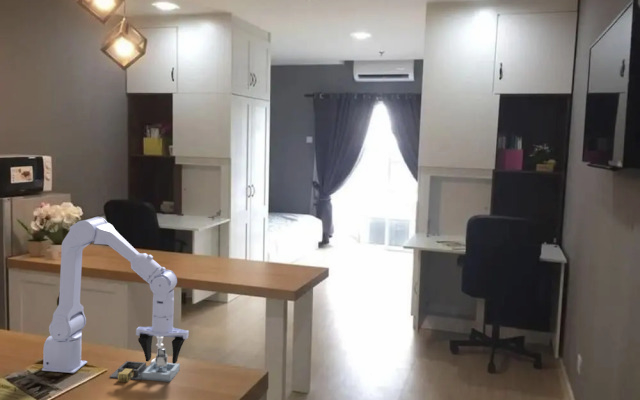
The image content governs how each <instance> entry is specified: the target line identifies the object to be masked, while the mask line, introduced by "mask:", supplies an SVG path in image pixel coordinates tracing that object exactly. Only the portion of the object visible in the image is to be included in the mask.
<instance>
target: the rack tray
mask: <svg viewBox="0 0 640 400" xmlns="http://www.w3.org/2000/svg"><path fill="white" fill-rule="evenodd" d="M180 365H181V364H180V363H177V362H176V363H175V364H173V363H172V362H168V363H167V373H160V372H156V362H152V363H151V362H150V363H149V365H147V366H148V367H147V368H146V369H145V370H144V371H143V372H142V380H141V381H154V382H168V383H171V382H172V380H173V379H174V378H175V377H176V375H178V373H179V372H180V369H181V368H180Z"/></svg>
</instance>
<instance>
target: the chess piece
mask: <svg viewBox="0 0 640 400" xmlns="http://www.w3.org/2000/svg"><path fill="white" fill-rule="evenodd" d="M156 340H157V343H156V344H155V346H156V347H157V349H158V348H162V347H163V346H164V343H163V340H164V337H156ZM156 355H158V350H157V351H156ZM152 362H156V357H155V358H153V359H152V358H151V359H150V364H151V363H152Z"/></svg>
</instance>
